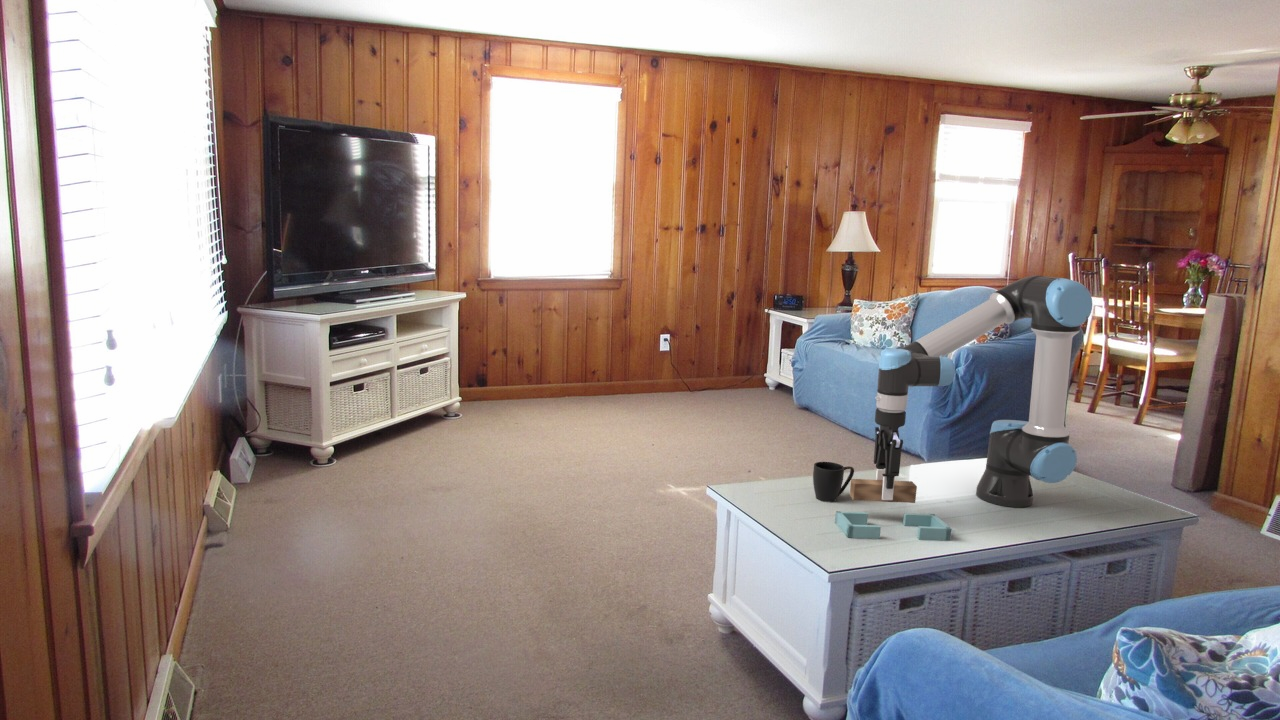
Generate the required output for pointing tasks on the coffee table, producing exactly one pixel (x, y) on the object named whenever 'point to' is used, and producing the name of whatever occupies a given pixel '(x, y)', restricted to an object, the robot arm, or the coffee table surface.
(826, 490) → the mug
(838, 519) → the cap
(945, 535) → the teal staple arch
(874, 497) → the slat
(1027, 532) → the coffee table surface
